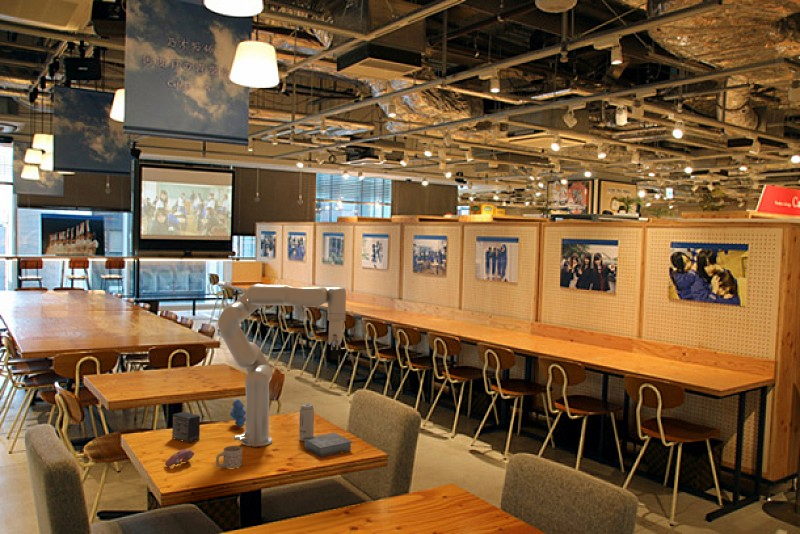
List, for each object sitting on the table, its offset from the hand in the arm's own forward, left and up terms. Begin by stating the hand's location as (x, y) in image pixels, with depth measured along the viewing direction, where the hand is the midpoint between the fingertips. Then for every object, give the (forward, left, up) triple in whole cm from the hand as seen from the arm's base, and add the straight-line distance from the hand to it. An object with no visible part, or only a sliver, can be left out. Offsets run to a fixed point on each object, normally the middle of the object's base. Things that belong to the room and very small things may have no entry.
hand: (335, 357), depth 268 cm
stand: (-7, -6, -36) cm, 37 cm away
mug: (-48, -3, -37) cm, 60 cm away
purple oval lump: (-62, +9, -37) cm, 72 cm away
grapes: (-25, +44, -37) cm, 62 cm away
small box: (-50, +38, -37) cm, 72 cm away
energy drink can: (-8, +10, -37) cm, 39 cm away
